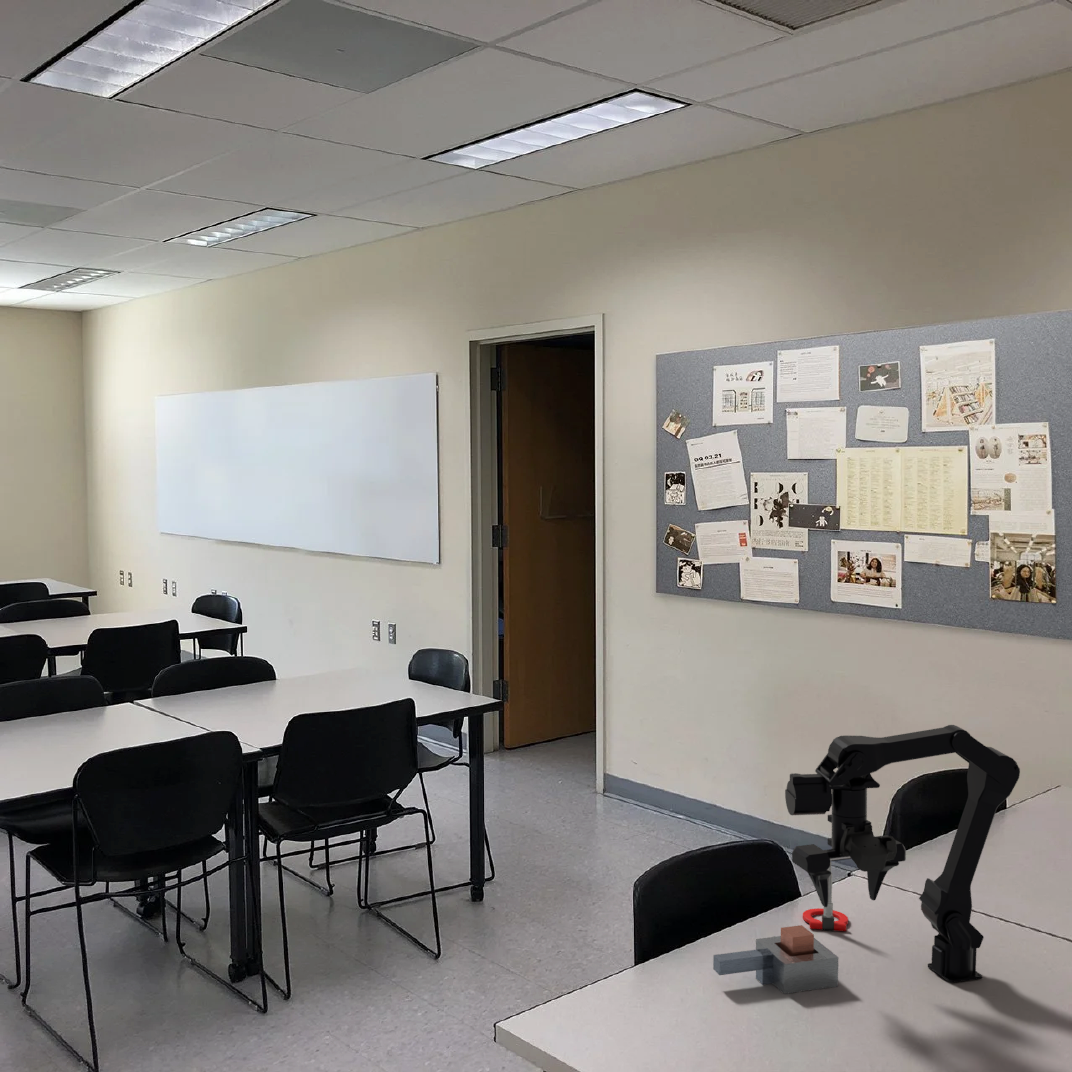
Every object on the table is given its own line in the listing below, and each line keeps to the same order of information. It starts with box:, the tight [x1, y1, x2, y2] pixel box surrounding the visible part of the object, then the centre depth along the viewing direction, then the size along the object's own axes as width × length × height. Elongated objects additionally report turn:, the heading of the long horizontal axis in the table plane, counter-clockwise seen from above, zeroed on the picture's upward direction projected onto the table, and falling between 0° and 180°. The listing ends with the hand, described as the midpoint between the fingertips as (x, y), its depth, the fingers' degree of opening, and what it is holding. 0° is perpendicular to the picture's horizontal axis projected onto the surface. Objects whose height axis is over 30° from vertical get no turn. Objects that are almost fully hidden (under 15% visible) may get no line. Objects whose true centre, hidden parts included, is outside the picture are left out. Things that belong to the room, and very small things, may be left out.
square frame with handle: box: [712, 935, 839, 994], centre depth 186 cm, size 20×10×5 cm, turn 106°
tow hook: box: [802, 861, 849, 932], centre depth 210 cm, size 8×13×9 cm
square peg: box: [780, 924, 815, 957], centre depth 187 cm, size 4×4×8 cm
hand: (848, 902), depth 187 cm, fingers open, 9 cm apart
